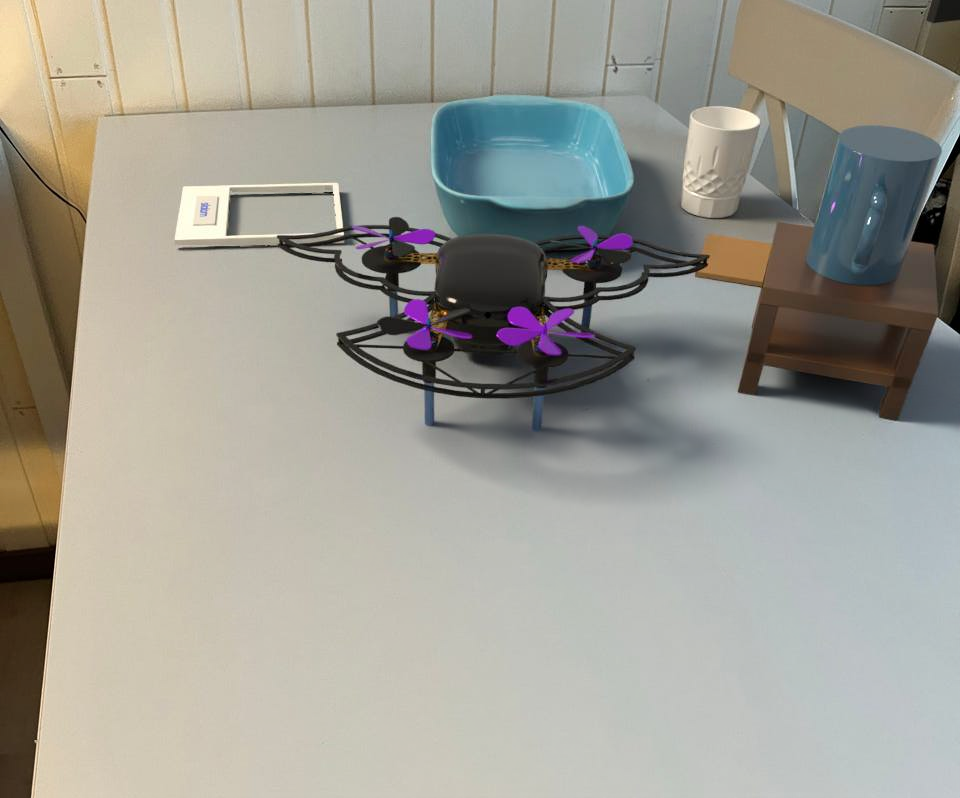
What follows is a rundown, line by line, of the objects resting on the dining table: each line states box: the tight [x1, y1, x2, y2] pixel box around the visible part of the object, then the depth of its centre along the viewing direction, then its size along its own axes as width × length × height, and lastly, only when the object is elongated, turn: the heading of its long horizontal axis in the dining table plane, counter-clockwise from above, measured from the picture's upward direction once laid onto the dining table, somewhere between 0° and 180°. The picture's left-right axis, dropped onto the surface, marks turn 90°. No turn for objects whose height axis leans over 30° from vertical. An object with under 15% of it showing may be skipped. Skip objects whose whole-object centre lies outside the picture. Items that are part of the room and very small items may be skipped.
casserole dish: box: [430, 94, 635, 251], centre depth 115 cm, size 37×22×7 cm, turn 2°
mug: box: [806, 124, 943, 286], centre depth 81 cm, size 8×11×10 cm
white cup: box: [680, 105, 762, 219], centre depth 115 cm, size 8×8×10 cm
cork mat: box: [694, 233, 772, 288], centre depth 108 cm, size 10×10×1 cm
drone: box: [277, 216, 710, 432], centre depth 86 cm, size 40×10×28 cm
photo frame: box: [174, 182, 345, 247], centre depth 112 cm, size 15×1×18 cm
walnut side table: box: [737, 221, 939, 421], centre depth 89 cm, size 14×14×10 cm
